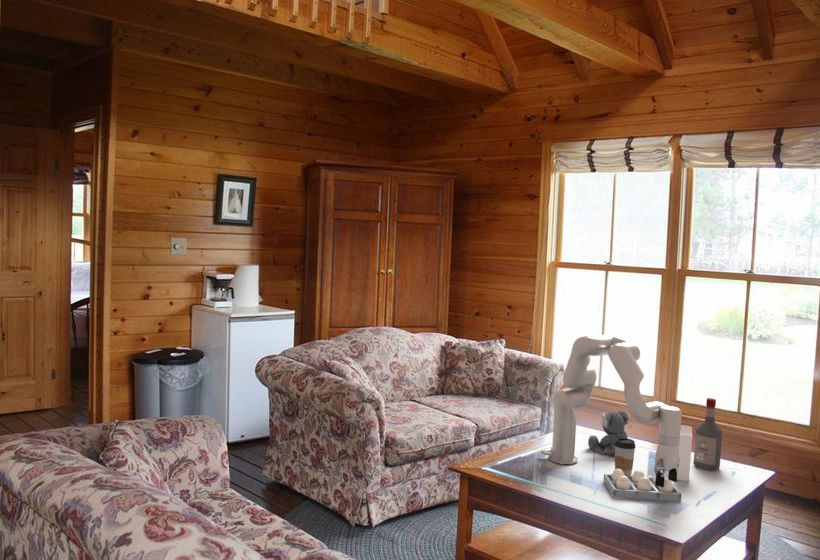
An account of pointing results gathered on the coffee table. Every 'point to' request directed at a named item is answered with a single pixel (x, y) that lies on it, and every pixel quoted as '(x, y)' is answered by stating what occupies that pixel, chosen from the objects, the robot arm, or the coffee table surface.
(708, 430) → the liquor
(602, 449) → the koala plush
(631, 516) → the coffee table surface
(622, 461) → the coffee cup
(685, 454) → the milk
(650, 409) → the robot arm
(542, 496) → the coffee table surface
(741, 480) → the coffee table surface
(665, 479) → the egg
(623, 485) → the carton
